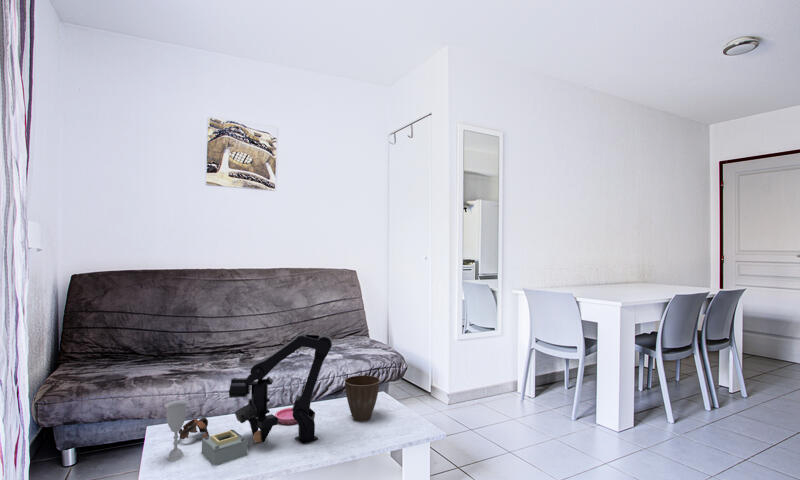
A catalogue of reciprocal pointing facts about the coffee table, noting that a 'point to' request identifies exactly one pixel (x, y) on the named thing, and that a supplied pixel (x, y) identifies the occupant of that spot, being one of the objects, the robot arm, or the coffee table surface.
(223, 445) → the grey box with opening
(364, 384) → the plant pot
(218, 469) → the coffee table surface
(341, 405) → the coffee table surface
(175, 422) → the chalice
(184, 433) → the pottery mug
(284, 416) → the saucer
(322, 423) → the coffee table surface
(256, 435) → the bead
